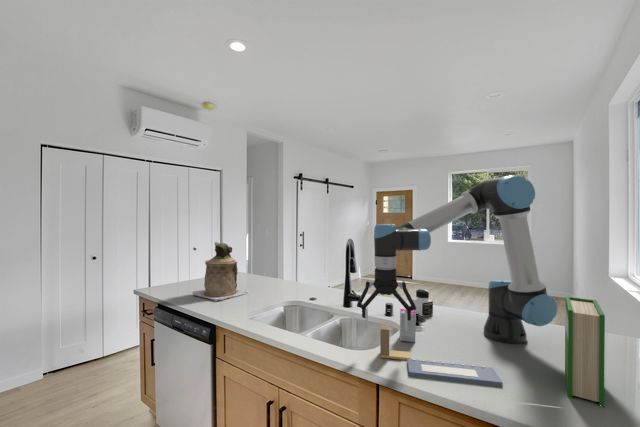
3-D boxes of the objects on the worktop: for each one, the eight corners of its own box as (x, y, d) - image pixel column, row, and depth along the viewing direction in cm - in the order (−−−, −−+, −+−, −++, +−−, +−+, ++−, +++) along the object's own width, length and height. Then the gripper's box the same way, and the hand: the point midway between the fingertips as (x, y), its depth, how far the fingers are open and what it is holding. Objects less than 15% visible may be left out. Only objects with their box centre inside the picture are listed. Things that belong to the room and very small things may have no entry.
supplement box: (415, 343, 121) (416, 313, 121) (400, 342, 123) (400, 312, 123) (414, 337, 127) (414, 309, 127) (399, 336, 128) (399, 308, 128)
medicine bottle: (422, 317, 152) (422, 292, 152) (411, 313, 159) (411, 289, 159) (433, 315, 155) (433, 290, 155) (422, 311, 162) (422, 287, 162)
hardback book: (604, 407, 82) (604, 315, 82) (567, 397, 86) (568, 309, 86) (595, 378, 96) (596, 300, 96) (564, 371, 101) (565, 296, 101)
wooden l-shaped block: (409, 354, 112) (409, 326, 112) (410, 360, 107) (410, 331, 107) (380, 351, 114) (380, 324, 114) (380, 357, 109) (380, 329, 109)
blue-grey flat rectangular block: (492, 372, 100) (492, 366, 100) (502, 387, 91) (502, 381, 91) (407, 363, 105) (407, 358, 105) (409, 376, 97) (409, 371, 97)
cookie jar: (217, 302, 175) (218, 245, 175) (190, 296, 189) (190, 242, 189) (250, 293, 196) (250, 241, 196) (223, 287, 209) (223, 239, 209)
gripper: (348, 268, 110) (349, 329, 110) (423, 270, 105) (424, 334, 105) (351, 265, 117) (352, 322, 117) (421, 266, 112) (422, 326, 112)
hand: (386, 328), depth 111 cm, fingers open, 13 cm apart
